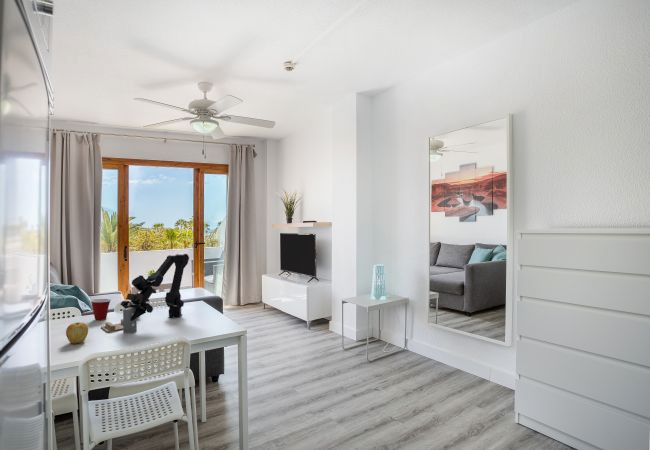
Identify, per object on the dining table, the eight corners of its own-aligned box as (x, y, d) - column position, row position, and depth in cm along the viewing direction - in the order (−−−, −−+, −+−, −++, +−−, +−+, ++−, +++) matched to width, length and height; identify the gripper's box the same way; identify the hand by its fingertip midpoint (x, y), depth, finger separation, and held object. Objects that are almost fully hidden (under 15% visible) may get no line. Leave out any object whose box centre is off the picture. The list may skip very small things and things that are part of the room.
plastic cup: (114, 318, 226) (114, 299, 226) (95, 322, 217) (95, 302, 217) (106, 316, 232) (106, 296, 232) (87, 319, 224) (87, 299, 224)
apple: (84, 338, 189) (84, 318, 189) (91, 342, 183) (90, 321, 183) (63, 343, 182) (63, 322, 182) (69, 347, 176) (69, 326, 176)
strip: (130, 330, 203) (130, 306, 203) (136, 331, 201) (136, 307, 201) (123, 332, 199) (123, 308, 198) (129, 333, 197) (129, 309, 197)
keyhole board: (127, 323, 216) (127, 318, 216) (135, 327, 208) (135, 321, 208) (100, 328, 206) (100, 322, 206) (107, 332, 198) (107, 327, 198)
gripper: (123, 286, 206) (105, 310, 196) (148, 288, 200) (131, 313, 190) (135, 297, 214) (118, 321, 204) (160, 299, 207) (144, 325, 197)
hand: (127, 320), depth 198 cm, fingers closed on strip, 4 cm apart
